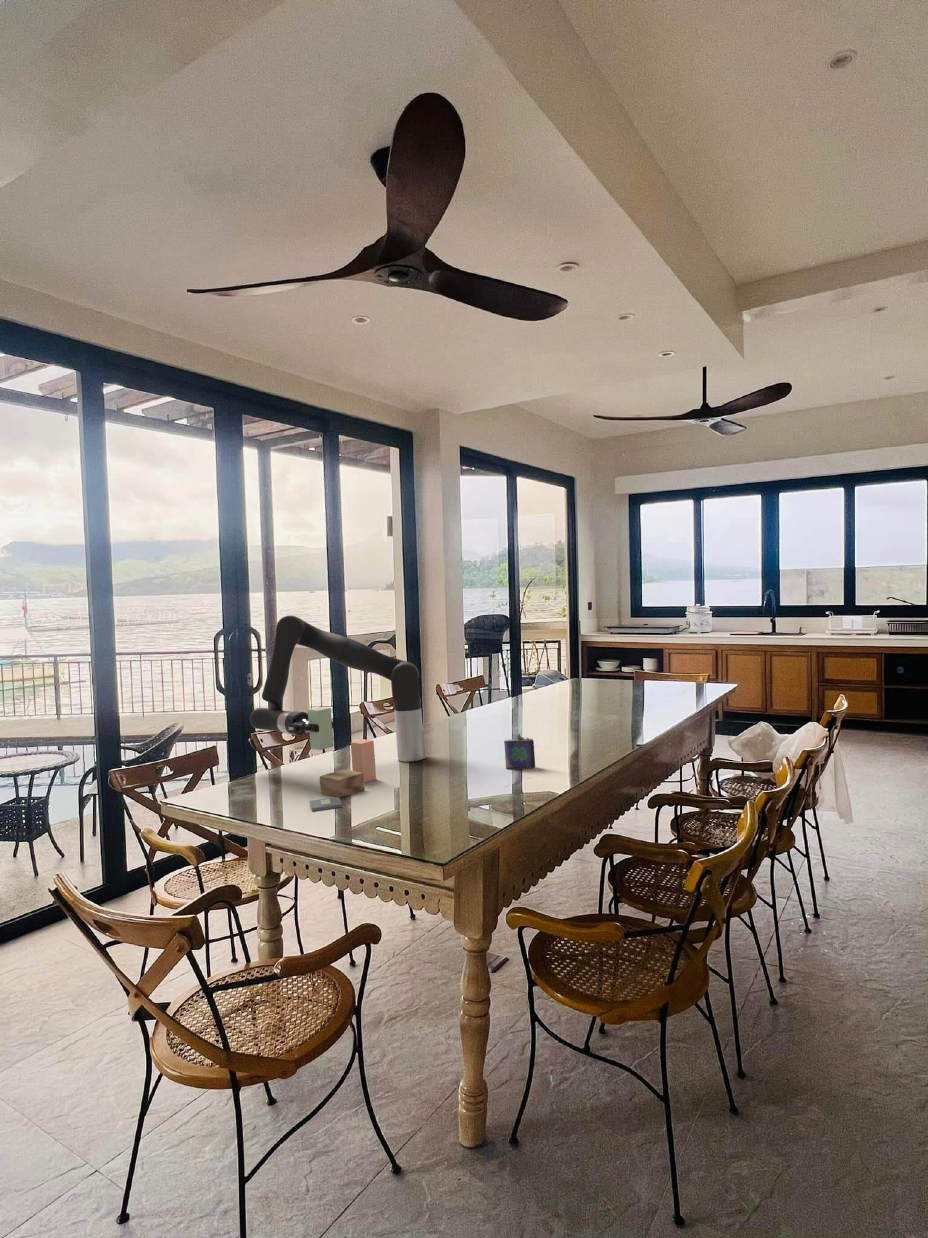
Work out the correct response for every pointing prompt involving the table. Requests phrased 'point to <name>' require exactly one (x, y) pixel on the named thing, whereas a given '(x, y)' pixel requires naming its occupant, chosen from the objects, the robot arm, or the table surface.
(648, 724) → the table surface
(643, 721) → the table surface
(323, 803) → the tile
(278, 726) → the robot arm
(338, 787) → the walnut base
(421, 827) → the table surface
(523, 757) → the flask
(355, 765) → the terracotta pillar
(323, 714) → the sage pillar
